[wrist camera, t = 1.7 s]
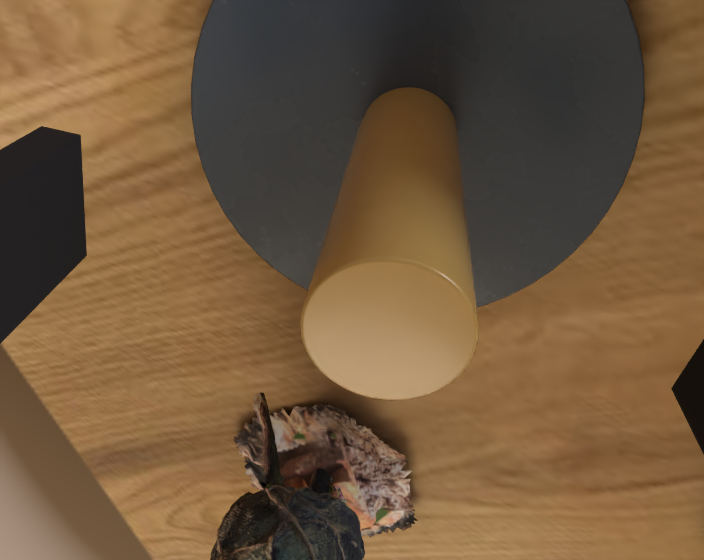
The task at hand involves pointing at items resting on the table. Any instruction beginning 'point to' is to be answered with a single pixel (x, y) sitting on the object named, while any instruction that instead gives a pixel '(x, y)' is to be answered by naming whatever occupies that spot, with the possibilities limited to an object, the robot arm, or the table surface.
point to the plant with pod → (313, 488)
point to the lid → (413, 160)
